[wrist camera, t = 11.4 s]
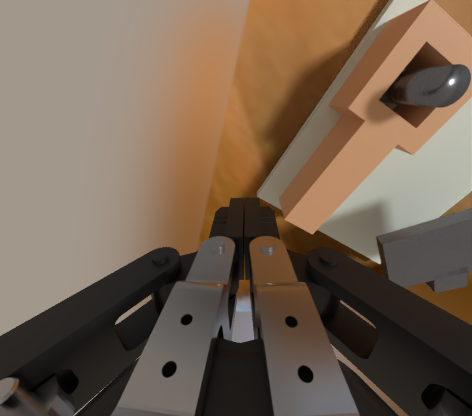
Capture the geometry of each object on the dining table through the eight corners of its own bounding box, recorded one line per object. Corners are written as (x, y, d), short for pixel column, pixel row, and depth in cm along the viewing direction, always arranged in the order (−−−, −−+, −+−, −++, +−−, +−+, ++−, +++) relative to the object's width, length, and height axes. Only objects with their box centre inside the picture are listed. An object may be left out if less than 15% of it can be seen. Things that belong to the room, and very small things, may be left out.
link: (313, 218, 22) (325, 241, 19) (266, 191, 21) (269, 211, 18) (446, 71, 16) (502, 66, 12) (387, 21, 15) (431, -2, 11)
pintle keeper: (378, 68, 17) (453, 55, 11) (503, 168, 20) (617, 202, 14) (280, 198, 23) (291, 237, 16) (388, 259, 26) (431, 311, 20)
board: (398, -14, 14) (408, -21, 14) (543, 120, 18) (558, 121, 17) (256, 192, 22) (256, 196, 22) (375, 258, 26) (379, 264, 25)
